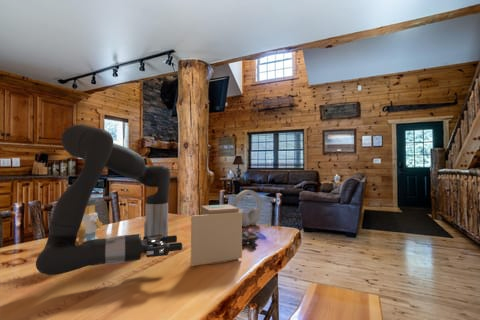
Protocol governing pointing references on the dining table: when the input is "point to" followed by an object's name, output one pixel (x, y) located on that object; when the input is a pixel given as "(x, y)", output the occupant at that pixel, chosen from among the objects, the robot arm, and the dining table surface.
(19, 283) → the dining table surface
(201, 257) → the flap
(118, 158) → the robot arm
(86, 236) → the character figure
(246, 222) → the headphones
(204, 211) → the carton
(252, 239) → the figurine
